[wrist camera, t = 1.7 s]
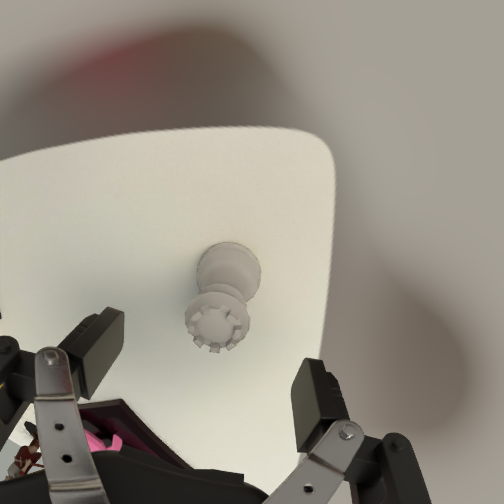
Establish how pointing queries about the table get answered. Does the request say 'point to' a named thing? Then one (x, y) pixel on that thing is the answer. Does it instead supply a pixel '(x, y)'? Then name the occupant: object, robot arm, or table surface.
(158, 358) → the table surface
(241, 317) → the rook chess piece
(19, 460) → the figurine
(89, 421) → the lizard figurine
